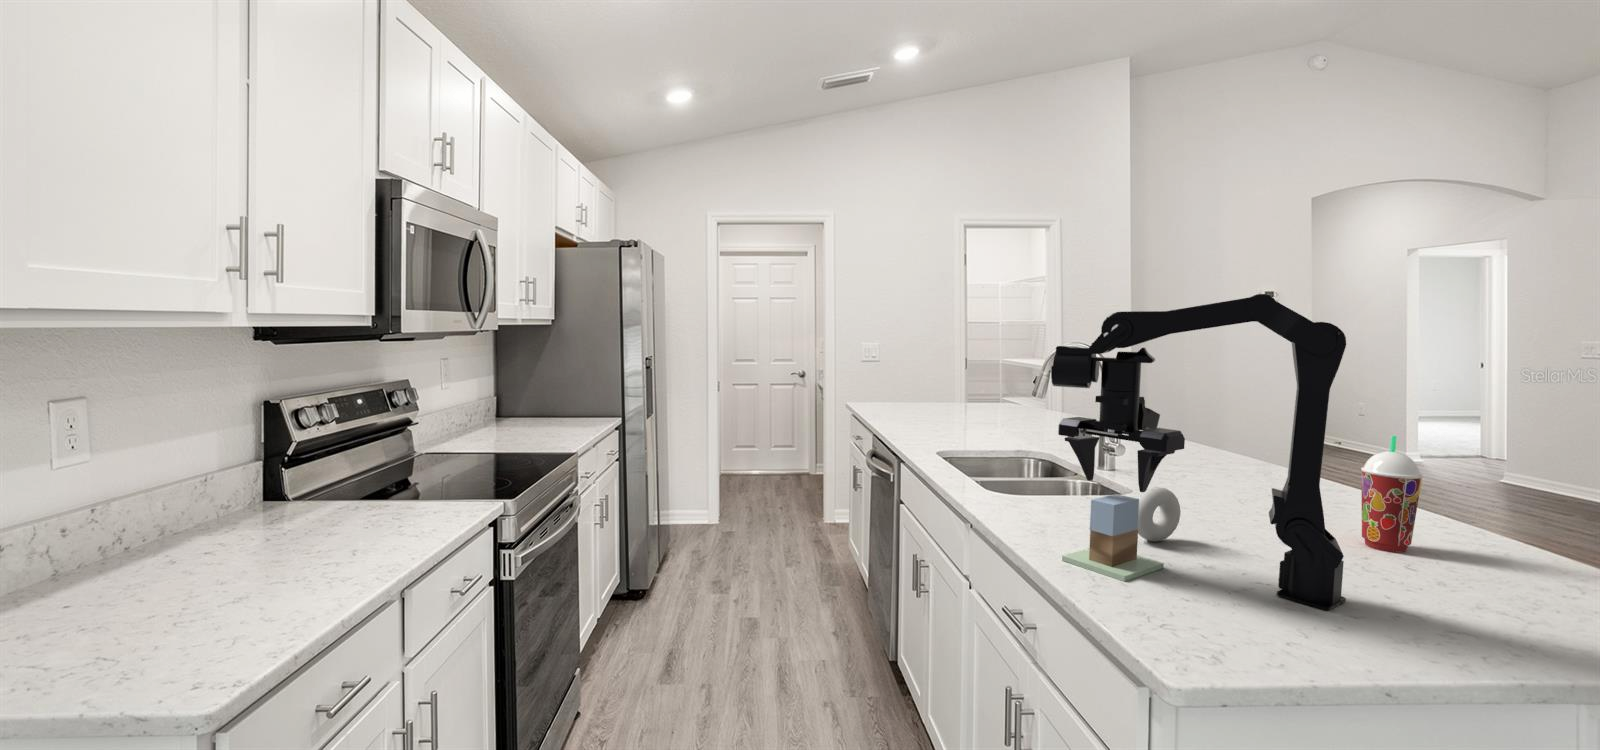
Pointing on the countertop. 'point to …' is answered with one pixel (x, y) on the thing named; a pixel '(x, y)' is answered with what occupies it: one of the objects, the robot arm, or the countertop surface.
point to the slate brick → (1114, 514)
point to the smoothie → (1389, 500)
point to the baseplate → (1119, 571)
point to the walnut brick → (1113, 548)
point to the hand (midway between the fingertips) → (1115, 485)
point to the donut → (1166, 517)
